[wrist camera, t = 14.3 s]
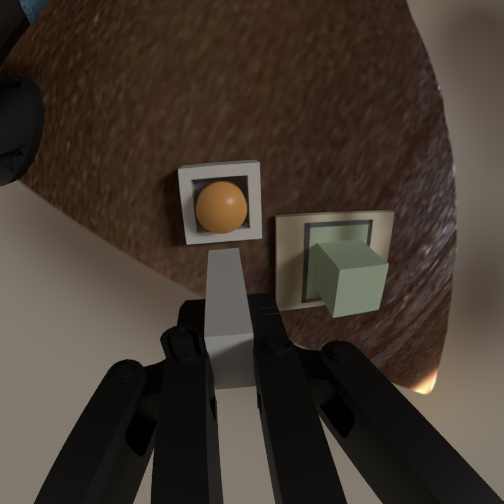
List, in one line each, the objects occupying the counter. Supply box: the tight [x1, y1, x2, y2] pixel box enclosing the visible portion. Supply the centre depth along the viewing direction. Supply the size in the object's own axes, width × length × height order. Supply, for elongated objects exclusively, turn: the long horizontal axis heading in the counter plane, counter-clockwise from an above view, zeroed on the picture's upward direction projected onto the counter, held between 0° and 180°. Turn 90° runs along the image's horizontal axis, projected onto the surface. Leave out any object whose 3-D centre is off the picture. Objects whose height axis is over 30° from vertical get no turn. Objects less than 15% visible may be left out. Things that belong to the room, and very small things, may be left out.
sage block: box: [314, 240, 389, 318], centre depth 31 cm, size 6×6×7 cm
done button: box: [196, 180, 247, 234], centre depth 27 cm, size 5×5×3 cm
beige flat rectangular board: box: [275, 210, 394, 311], centre depth 34 cm, size 16×13×1 cm
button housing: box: [178, 160, 262, 245], centre depth 29 cm, size 8×8×3 cm
